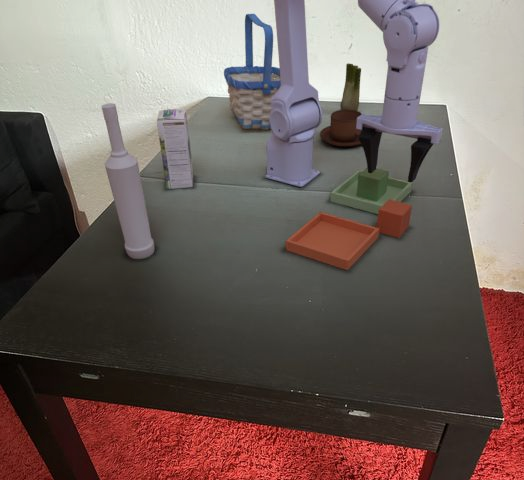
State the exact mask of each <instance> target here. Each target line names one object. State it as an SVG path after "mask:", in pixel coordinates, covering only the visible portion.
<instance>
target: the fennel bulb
mask: <svg viewBox="0 0 524 480" xmlns="http://www.w3.org/2000/svg"><path fill="white" fill-rule="evenodd" d="M345 67H346V68H345V82H344V86H343V91H342V97H341V101H340V110H354V111H358V109H359V106H360V95H361V93H360V90H361V75H362V68H361V67H359V65H355V64H353V63H348V62H347V63H346V65H345Z"/></svg>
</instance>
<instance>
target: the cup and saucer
mask: <svg viewBox="0 0 524 480" xmlns="http://www.w3.org/2000/svg"><path fill="white" fill-rule="evenodd" d="M360 115H362V113H361V112H360V111H358V110H357V111H354V110H341V109H339V110H335V111H332V112H331V113H330V125H328V126H325V127H324V128H323V129H321V130H320V133H319V135H320V138H321V140H323V141H324V142H326V143H327V144H329V145H332V146H336V147H355V146H359V145H361V143H360V141H359V134H360V133H361V131H362V130H360V129H356V124H357V117H359V116H360Z"/></svg>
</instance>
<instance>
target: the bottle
mask: <svg viewBox="0 0 524 480" xmlns="http://www.w3.org/2000/svg"><path fill="white" fill-rule="evenodd" d="M101 110H102V115H103V119H104V121H105V126H106V130H107V135H108V138H109V143H110V148H111V151H110V152H109V154H110V155H109V157H108V158H107V159H106V161H105V162H104V167H105V171H106V174H107V179H108V182H109V186H110V191H111V193H112V197H113V201H114V206H115V209H116V213H117V216H118V220H119V223H120V228H121V230H122V231H121V232H122V235H123V240H124V242H125V243H124V249H125V253H126V254H127V256H128V257H129V258H131V259H133V260H142V259H147V258H149V257H150V256H152V255H153V254H154V252H155V250H156V249H155V241H154V239H153V238H152V234H151V229H150V222H149V217H148V212H147V207H146V206H147V205H146V201H145V194H144V189H143V184H142V178H141V173H140V168H139V162H138V158H137V157H135V156H133V155H132V154H130V153H129V151H128V149H127V148H125V143H124V140H123V135H122V130H121V125H120V121H119V115H118V111H117V106H116V103H110V102H109V103H104V104H102V105H101Z"/></svg>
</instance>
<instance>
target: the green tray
mask: <svg viewBox="0 0 524 480" xmlns="http://www.w3.org/2000/svg"><path fill="white" fill-rule="evenodd" d="M363 171H364V170H360V169H357V170H356V171H355V172H354V173H352V174H351V175H350V176H349V177H348V178H347V179H345V180H343V182H342V183H340V184H339V185H338V186H337V187H336V188H335V189H333V190H332V191H331V192H330V200H329V201H330V202H331V203H335V204H339V205H342V206H346V207H350V208H354V209H356V210H361V211H364V212H368V213H372V214H376V215H378V211H379V209H380V208H381V207H382V206H383V205H384V204H385V203H386V202H387V201H388V200H389V199H390V200H394V201H398V202H402V201H404V199H406V197H407V196H408V195H409V194H410V193H412V189H413V182H408V180H407V181H406V180H403V179H398V178H394V177H390V176H388V182H387V190H386V193H385V194H384V195H383V196H382V197H381V198H380V199H379V200H378V201H373V200H370V199H366V198H362V197H358V196H357V185H358V175H359V174H360V173H361V172H363Z"/></svg>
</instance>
